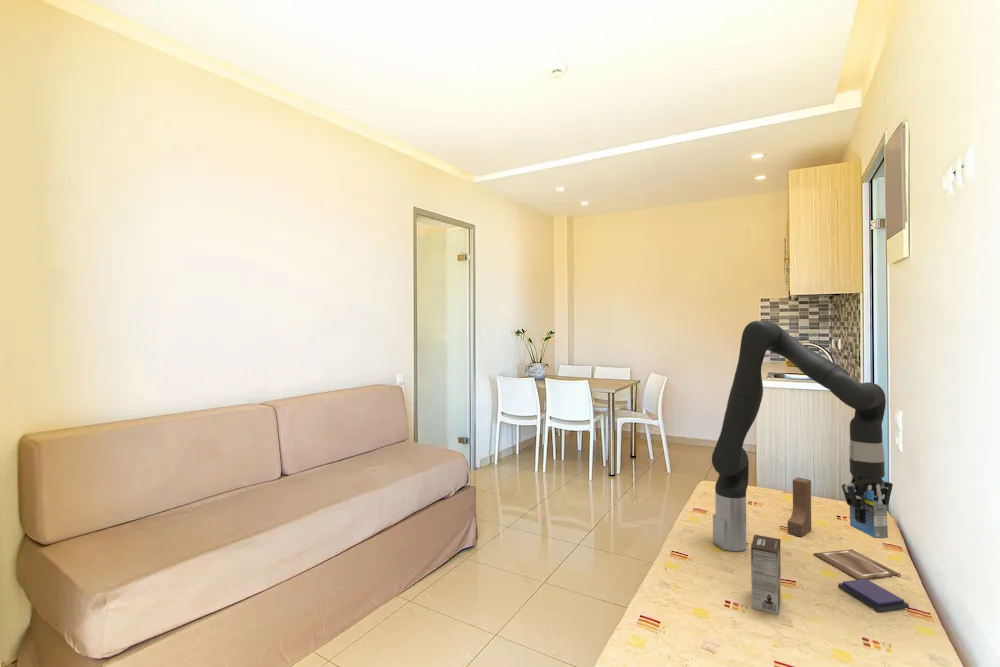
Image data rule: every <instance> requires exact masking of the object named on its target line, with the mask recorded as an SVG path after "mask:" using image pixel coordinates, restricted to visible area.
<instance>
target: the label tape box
mask: <svg viewBox="0 0 1000 667" xmlns="http://www.w3.org/2000/svg"><path fill="white" fill-rule="evenodd" d="M849 482H850V483H851V481H849ZM850 483H849V484H850ZM858 495H859V494H858ZM859 496H860V497H863V496H862V495H859ZM873 499H874V491H871V490H869V489H868V490H867V497H866V502H865V508H864V510H865V523H859V522H857V521H856V519H855V508H854V507H853V506H850V505H849V525H850V527H852V528H854V529H855V530H858V531H860V532H862V533H864V534H866V535H868V536H870V537H872V538H873V539H888V538H889V535H888V534H889V533H888V532H889V530H888V506H887V505H883V504H881V503H878V502H876V501H874V500H873ZM858 504H860V499H859V503H858Z"/></svg>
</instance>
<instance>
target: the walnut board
mask: <svg viewBox="0 0 1000 667" xmlns="http://www.w3.org/2000/svg"><path fill="white" fill-rule="evenodd" d="M813 556H814V557H816V558H817V557H818V558H817V559H819V560H821V561H822V562H825V563H826V562H827V563H826V564H828V563H829V564H828V565H830V564H831V565H832V566H831V565H830V566H831V567H833V566H834V567H833V568H835V567H836V568H835V569H837V568H838V569H839V570H838V569H837V570H838V571H840V570H841V571H840V572H842V573H844V574H845V573H846V574H845V575H847V576H849V577H851V578H852V579H853V580H861V579H867V580H869V581H871V579H872V580H878V579H887V578H886V577H889V578H893V577H892V576H898V575H900V576H901V573H900V572H899V573H898V572H897V571H895V570H893V569H892V568H889V567H888V566H885V565H883V564H881V563H880V562H877V561H876V560H874V559H871V558H870V557H867V555H863V554H862V553H860V552H859V551H855V550H854V549H842V550H833V551H824V552H821V551H820V552H813ZM898 577H899V576H898Z"/></svg>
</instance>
